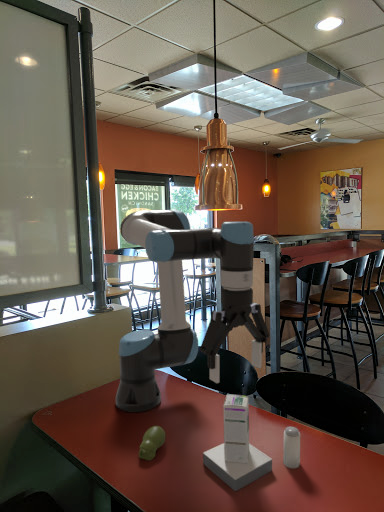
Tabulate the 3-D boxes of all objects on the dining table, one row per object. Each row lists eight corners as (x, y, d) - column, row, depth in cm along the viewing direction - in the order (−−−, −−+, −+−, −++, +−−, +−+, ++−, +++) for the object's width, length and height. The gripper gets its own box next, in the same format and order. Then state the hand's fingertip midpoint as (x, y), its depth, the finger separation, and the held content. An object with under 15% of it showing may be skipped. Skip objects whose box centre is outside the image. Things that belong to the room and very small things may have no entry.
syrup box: (248, 464, 90) (248, 406, 89) (223, 461, 91) (223, 404, 90) (249, 450, 96) (249, 395, 94) (226, 447, 97) (225, 393, 95)
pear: (168, 424, 104) (151, 450, 95) (169, 440, 105) (153, 467, 96) (150, 420, 106) (132, 445, 97) (151, 436, 107) (134, 462, 98)
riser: (203, 463, 95) (203, 452, 95) (238, 446, 102) (238, 436, 102) (235, 491, 86) (235, 479, 85) (272, 470, 92) (272, 458, 92)
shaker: (280, 462, 96) (280, 429, 95) (290, 456, 98) (290, 423, 97) (292, 470, 92) (293, 436, 91) (303, 464, 95) (303, 431, 94)
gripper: (204, 297, 79) (204, 394, 81) (284, 283, 93) (283, 365, 96) (184, 291, 85) (185, 381, 87) (262, 279, 99) (261, 356, 102)
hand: (236, 373), depth 92 cm, fingers open, 13 cm apart
